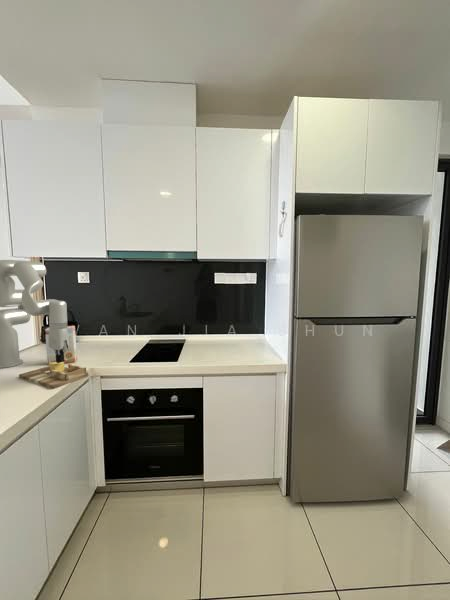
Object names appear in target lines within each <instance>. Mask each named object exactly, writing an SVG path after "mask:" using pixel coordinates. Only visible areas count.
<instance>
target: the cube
mask: <svg viewBox="0 0 450 600" xmlns="http://www.w3.org/2000/svg"><path fill="white" fill-rule="evenodd" d="M49 366H50V370H52V369H53V370H56V371H60V372H63V371H65V369H64V367H65V363H64V362H60V363H57V362H54V363H50V365H49Z"/></svg>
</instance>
